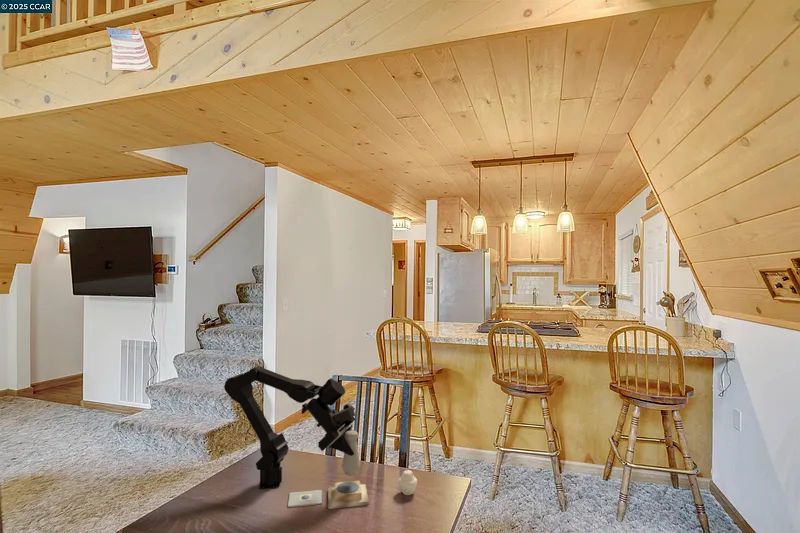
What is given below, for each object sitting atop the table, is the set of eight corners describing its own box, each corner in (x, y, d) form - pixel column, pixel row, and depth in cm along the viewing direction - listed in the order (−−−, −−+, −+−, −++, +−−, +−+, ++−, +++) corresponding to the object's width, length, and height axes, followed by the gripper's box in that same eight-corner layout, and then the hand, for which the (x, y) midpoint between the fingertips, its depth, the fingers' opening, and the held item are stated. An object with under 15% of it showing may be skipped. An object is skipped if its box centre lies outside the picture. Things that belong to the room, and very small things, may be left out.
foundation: (328, 508, 125) (328, 498, 125) (328, 490, 135) (328, 480, 136) (368, 504, 127) (368, 494, 127) (365, 487, 138) (365, 477, 138)
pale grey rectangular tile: (287, 507, 125) (287, 505, 125) (289, 493, 133) (289, 492, 133) (321, 504, 127) (321, 502, 127) (321, 491, 135) (321, 489, 135)
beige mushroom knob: (352, 478, 130) (353, 436, 130) (338, 474, 132) (338, 433, 132) (363, 471, 135) (363, 430, 135) (348, 466, 137) (349, 427, 138)
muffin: (414, 486, 138) (414, 465, 138) (419, 496, 132) (419, 473, 132) (396, 489, 136) (396, 467, 136) (400, 498, 130) (400, 475, 130)
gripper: (328, 406, 126) (362, 447, 123) (350, 390, 144) (380, 426, 141) (303, 430, 127) (337, 471, 125) (328, 411, 146) (358, 447, 143)
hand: (355, 452), depth 133 cm, fingers closed on beige mushroom knob, 3 cm apart
